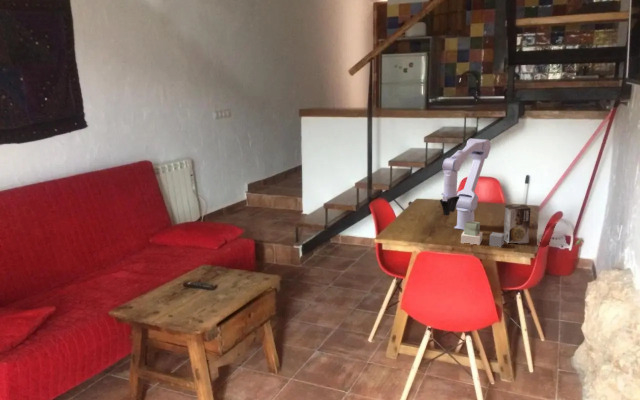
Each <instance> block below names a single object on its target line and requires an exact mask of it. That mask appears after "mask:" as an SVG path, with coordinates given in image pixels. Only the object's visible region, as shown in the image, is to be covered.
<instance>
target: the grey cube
mask: <svg viewBox="0 0 640 400" xmlns="http://www.w3.org/2000/svg"><path fill="white" fill-rule="evenodd" d="M504 235H505V234H504V233H503V232H494V231H492V232H491V234H489V241H488V246H489V245H491V246H490V247H492V246H499V247H501V246H502V245H503V244H505V241H504ZM503 246H504V245H503ZM503 246H502V247H503ZM499 247H498V248H499ZM502 247H501V248H502Z"/></svg>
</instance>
